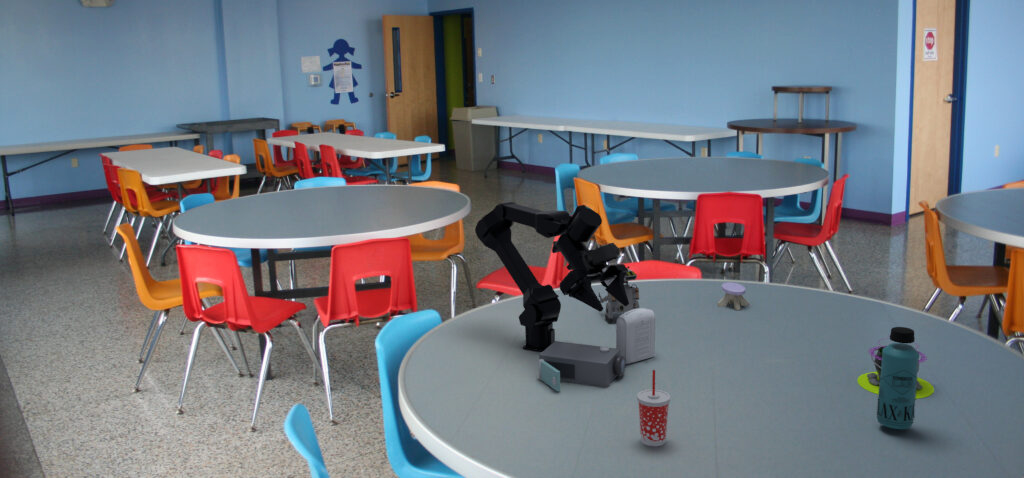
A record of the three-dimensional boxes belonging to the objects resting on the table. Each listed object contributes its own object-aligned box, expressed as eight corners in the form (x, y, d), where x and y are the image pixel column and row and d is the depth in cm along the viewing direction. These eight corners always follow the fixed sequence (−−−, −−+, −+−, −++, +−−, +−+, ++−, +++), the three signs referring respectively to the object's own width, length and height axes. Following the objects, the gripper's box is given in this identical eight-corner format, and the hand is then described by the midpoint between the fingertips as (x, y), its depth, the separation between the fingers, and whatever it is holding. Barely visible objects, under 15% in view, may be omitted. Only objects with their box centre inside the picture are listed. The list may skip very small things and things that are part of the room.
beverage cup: (662, 451, 147) (663, 379, 144) (631, 443, 150) (631, 373, 147) (674, 437, 152) (675, 367, 149) (644, 430, 155) (644, 362, 152)
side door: (537, 379, 181) (536, 359, 181) (542, 377, 182) (542, 358, 181) (555, 392, 174) (554, 372, 173) (561, 390, 174) (560, 371, 173)
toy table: (715, 300, 237) (715, 282, 236) (746, 301, 236) (747, 282, 235) (719, 310, 228) (719, 291, 226) (751, 311, 226) (752, 291, 225)
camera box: (539, 378, 183) (538, 352, 181) (555, 362, 192) (555, 338, 190) (614, 388, 175) (614, 362, 174) (627, 372, 184) (627, 346, 183)
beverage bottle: (868, 423, 155) (875, 324, 151) (901, 420, 156) (909, 322, 152) (887, 438, 149) (894, 335, 145) (921, 435, 149) (929, 333, 145)
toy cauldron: (841, 380, 177) (844, 332, 174) (891, 368, 182) (895, 321, 180) (898, 405, 163) (902, 353, 161) (950, 391, 169) (955, 341, 167)
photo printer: (645, 352, 197) (645, 303, 194) (657, 356, 193) (658, 307, 191) (613, 361, 191) (613, 311, 189) (625, 366, 188) (625, 316, 185)
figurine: (629, 310, 230) (629, 259, 227) (642, 323, 219) (642, 269, 215) (598, 313, 228) (597, 262, 225) (609, 325, 217) (609, 272, 214)
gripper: (569, 234, 175) (609, 290, 169) (622, 229, 188) (660, 280, 182) (543, 267, 182) (580, 322, 175) (595, 260, 195) (632, 310, 188)
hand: (614, 307), depth 180 cm, fingers open, 9 cm apart
